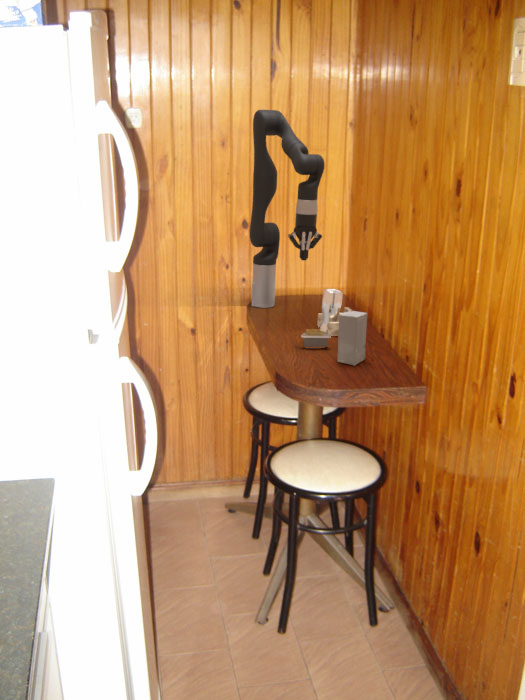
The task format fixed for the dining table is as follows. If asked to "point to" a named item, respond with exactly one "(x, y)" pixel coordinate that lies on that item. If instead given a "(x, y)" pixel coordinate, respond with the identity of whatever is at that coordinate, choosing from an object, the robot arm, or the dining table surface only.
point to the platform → (315, 338)
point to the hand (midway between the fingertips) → (303, 259)
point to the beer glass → (330, 307)
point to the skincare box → (352, 337)
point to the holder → (332, 323)
